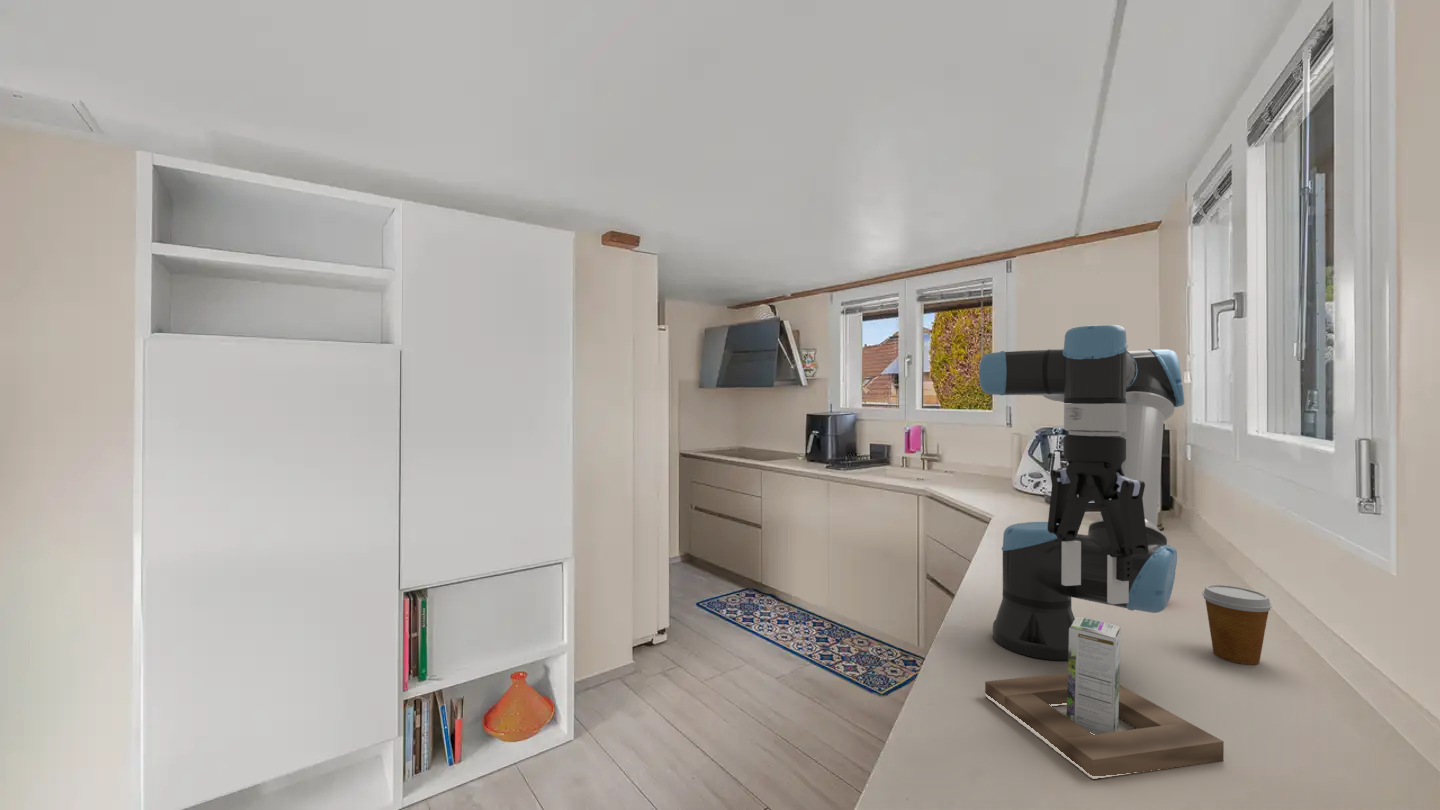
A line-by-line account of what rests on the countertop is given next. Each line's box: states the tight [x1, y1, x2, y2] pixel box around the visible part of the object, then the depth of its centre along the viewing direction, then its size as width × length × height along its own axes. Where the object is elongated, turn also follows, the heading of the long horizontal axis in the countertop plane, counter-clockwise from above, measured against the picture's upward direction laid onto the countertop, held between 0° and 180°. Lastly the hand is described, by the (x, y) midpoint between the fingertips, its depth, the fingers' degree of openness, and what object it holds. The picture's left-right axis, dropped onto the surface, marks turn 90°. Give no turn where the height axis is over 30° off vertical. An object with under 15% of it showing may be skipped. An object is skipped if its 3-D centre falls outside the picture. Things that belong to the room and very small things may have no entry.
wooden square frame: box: [984, 672, 1225, 776], centre depth 81 cm, size 20×20×2 cm
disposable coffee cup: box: [1201, 584, 1273, 666], centre depth 104 cm, size 10×10×12 cm
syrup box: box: [1066, 616, 1122, 734], centre depth 81 cm, size 6×6×14 cm
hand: (1093, 593), depth 81 cm, fingers open, 7 cm apart
